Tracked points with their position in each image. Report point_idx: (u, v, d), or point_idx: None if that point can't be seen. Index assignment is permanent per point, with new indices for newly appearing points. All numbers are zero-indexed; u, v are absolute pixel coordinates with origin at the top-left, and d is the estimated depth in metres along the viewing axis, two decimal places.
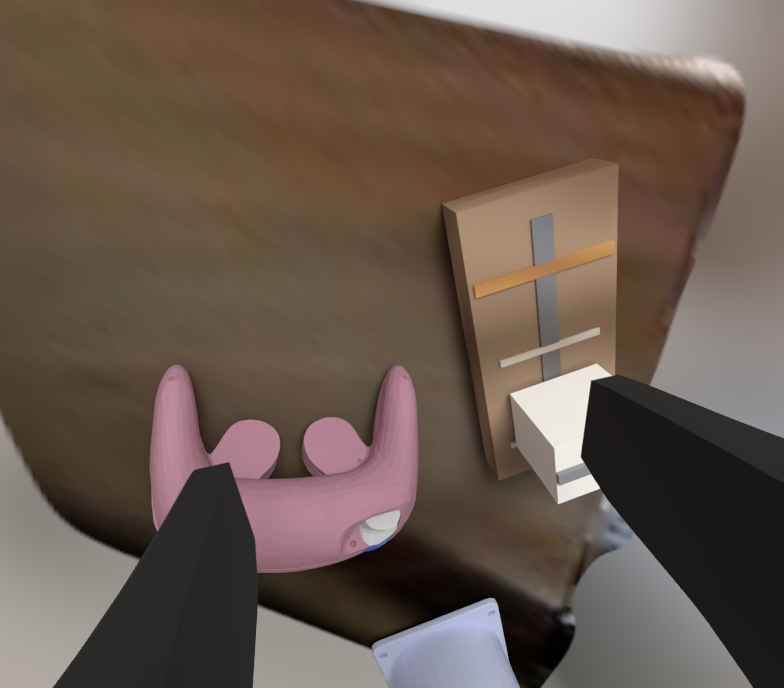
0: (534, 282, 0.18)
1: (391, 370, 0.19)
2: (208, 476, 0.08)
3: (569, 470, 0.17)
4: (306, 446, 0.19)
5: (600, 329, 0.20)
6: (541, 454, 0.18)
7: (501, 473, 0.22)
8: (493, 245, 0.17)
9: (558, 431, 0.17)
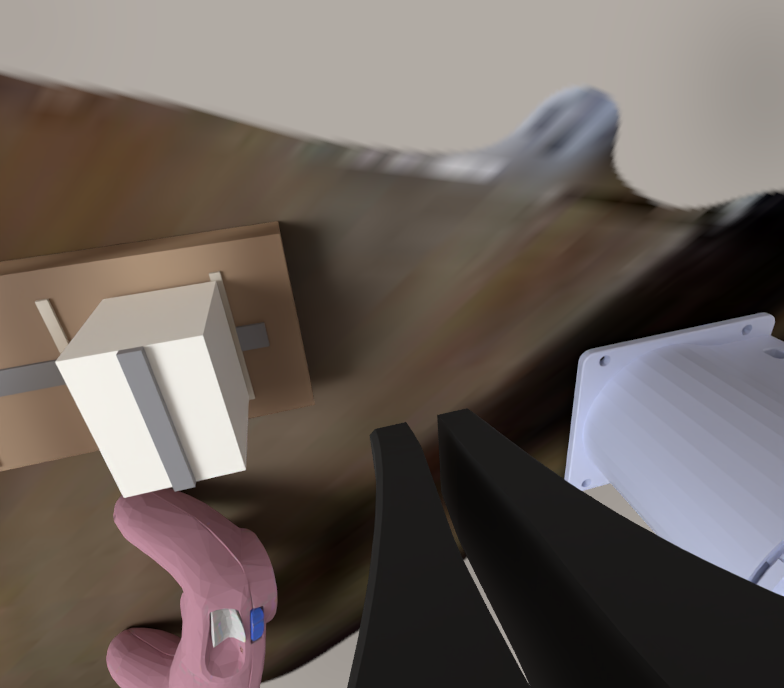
0: None
1: None
2: (395, 433, 0.08)
3: (169, 476, 0.12)
4: None
5: (40, 296, 0.13)
6: None
7: (302, 402, 0.16)
8: None
9: None
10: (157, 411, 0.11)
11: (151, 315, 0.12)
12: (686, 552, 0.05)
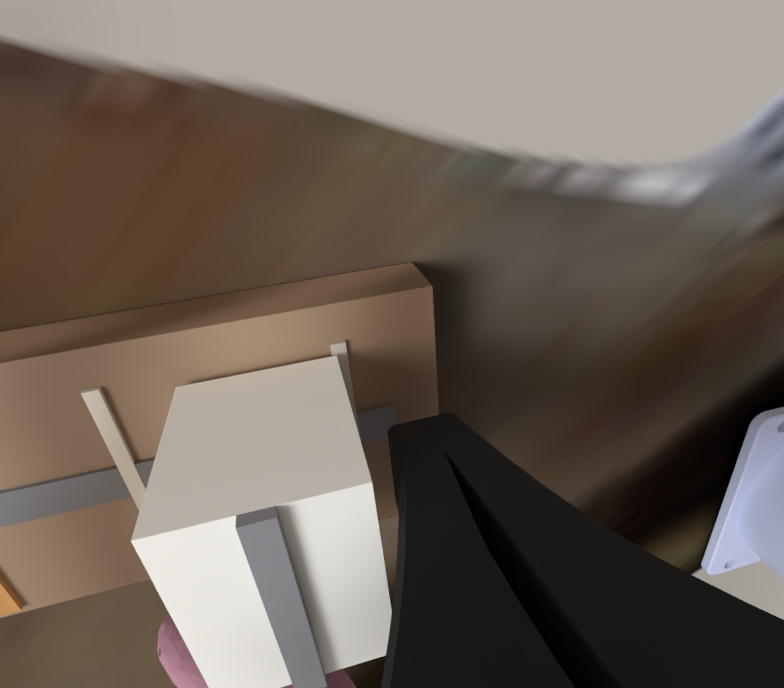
0: None
1: None
2: (414, 429, 0.08)
3: (291, 677, 0.08)
4: None
5: (88, 384, 0.09)
6: None
7: None
8: None
9: None
10: (289, 598, 0.07)
11: (264, 425, 0.08)
12: (660, 560, 0.05)
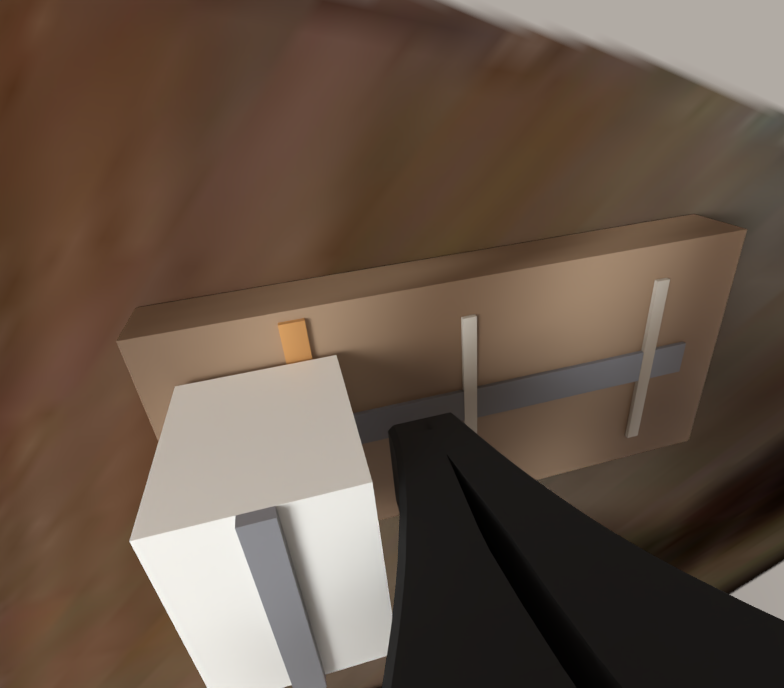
0: None
1: None
2: (414, 429, 0.08)
3: (290, 677, 0.08)
4: None
5: (468, 311, 0.10)
6: None
7: (677, 438, 0.13)
8: None
9: None
10: (287, 599, 0.07)
11: (264, 426, 0.07)
12: (659, 561, 0.05)
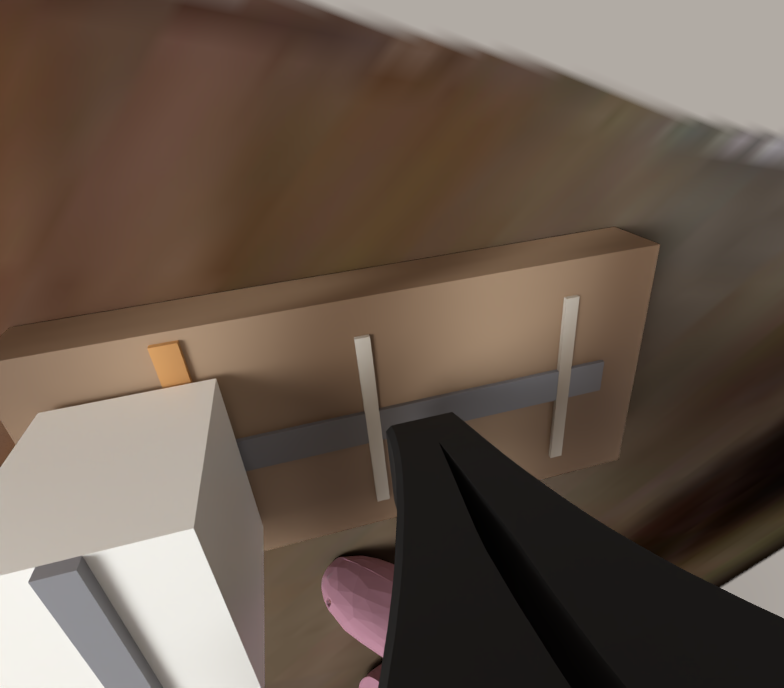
0: None
1: None
2: (412, 429, 0.08)
3: None
4: None
5: (360, 331, 0.09)
6: None
7: (606, 457, 0.13)
8: None
9: None
10: (112, 652, 0.06)
11: (109, 459, 0.07)
12: (661, 559, 0.05)
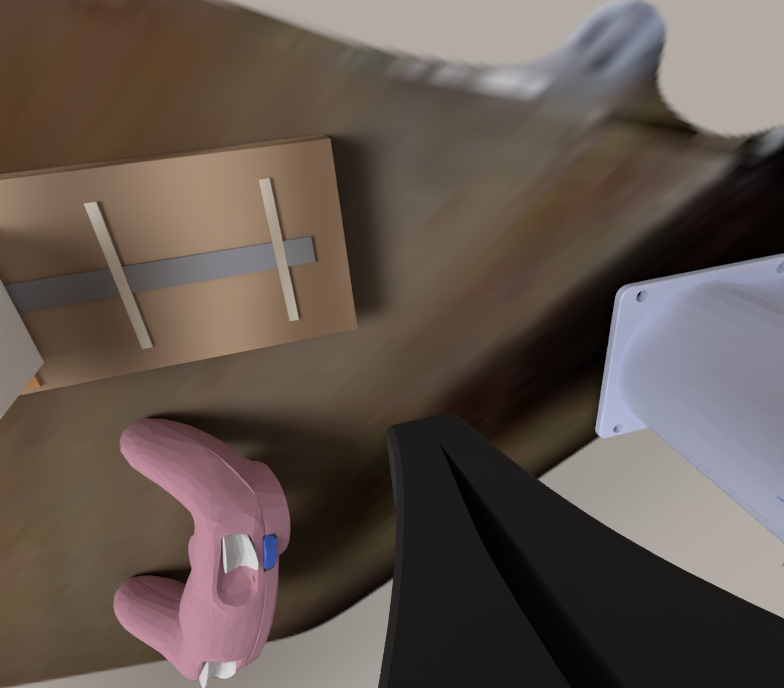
0: None
1: None
2: (412, 429, 0.08)
3: None
4: None
5: (89, 198, 0.12)
6: None
7: (345, 326, 0.16)
8: None
9: None
10: None
11: None
12: (661, 560, 0.05)
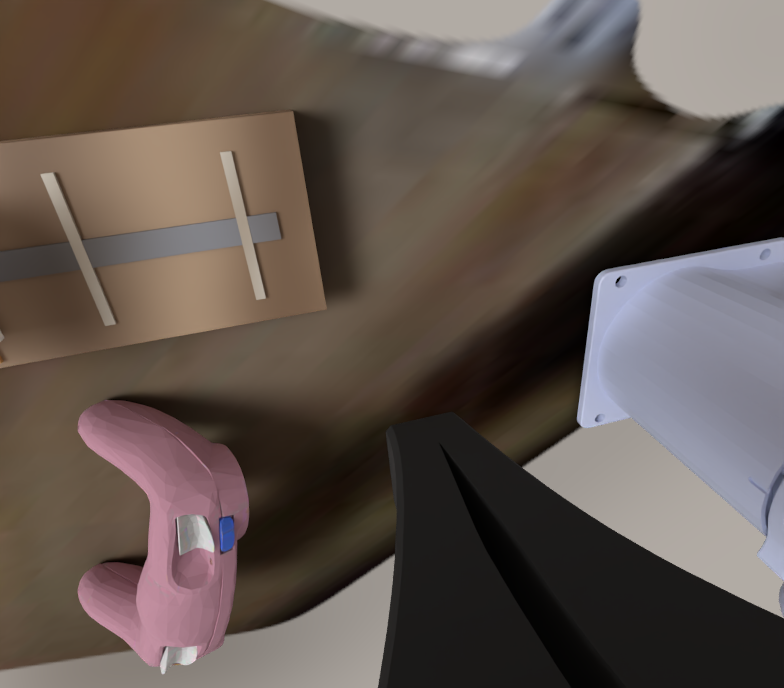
0: None
1: None
2: (412, 429, 0.08)
3: None
4: None
5: (46, 169, 0.12)
6: None
7: (313, 306, 0.16)
8: None
9: None
10: None
11: None
12: (661, 559, 0.05)
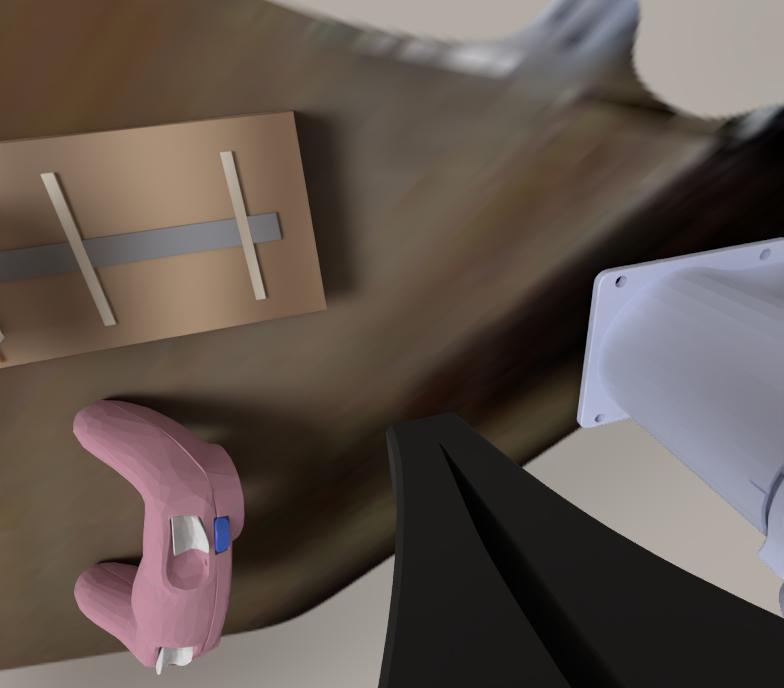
0: None
1: None
2: (412, 429, 0.08)
3: None
4: None
5: (46, 169, 0.12)
6: None
7: (313, 306, 0.16)
8: None
9: None
10: None
11: None
12: (661, 559, 0.05)
